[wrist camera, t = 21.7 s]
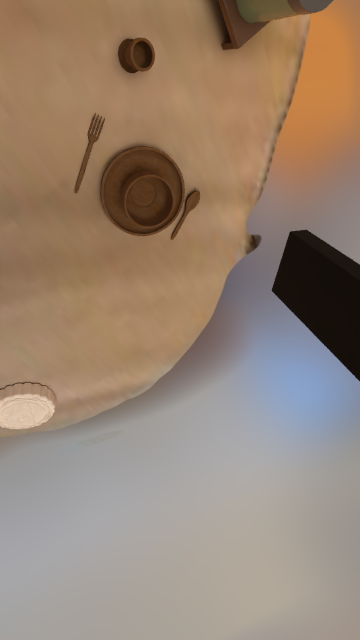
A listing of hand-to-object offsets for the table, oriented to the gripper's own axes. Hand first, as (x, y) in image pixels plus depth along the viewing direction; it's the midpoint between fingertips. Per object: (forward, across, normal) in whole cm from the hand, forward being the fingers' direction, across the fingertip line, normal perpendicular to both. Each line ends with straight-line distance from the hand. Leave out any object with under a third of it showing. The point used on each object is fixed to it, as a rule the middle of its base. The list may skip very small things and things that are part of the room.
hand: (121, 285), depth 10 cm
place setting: (+35, +10, -4) cm, 36 cm away
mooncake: (+34, -19, -49) cm, 62 cm away
